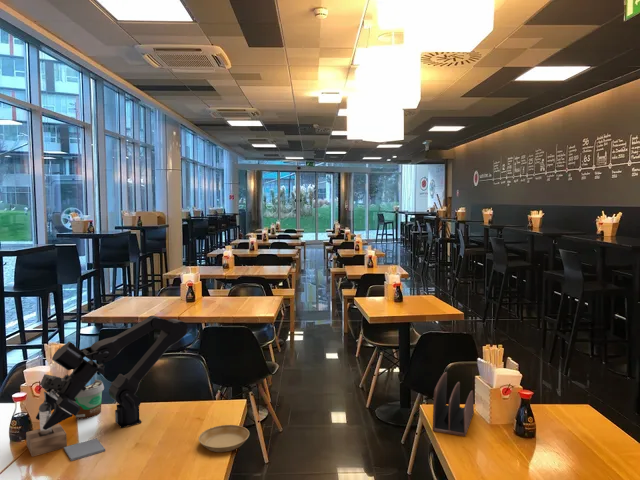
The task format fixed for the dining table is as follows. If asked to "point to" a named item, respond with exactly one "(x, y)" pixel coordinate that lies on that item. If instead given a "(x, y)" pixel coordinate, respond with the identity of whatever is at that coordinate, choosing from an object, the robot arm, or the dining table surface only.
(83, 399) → the food container
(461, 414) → the letter holder
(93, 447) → the slate pad
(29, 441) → the block
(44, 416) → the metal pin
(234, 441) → the plant saucer
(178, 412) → the dining table surface
